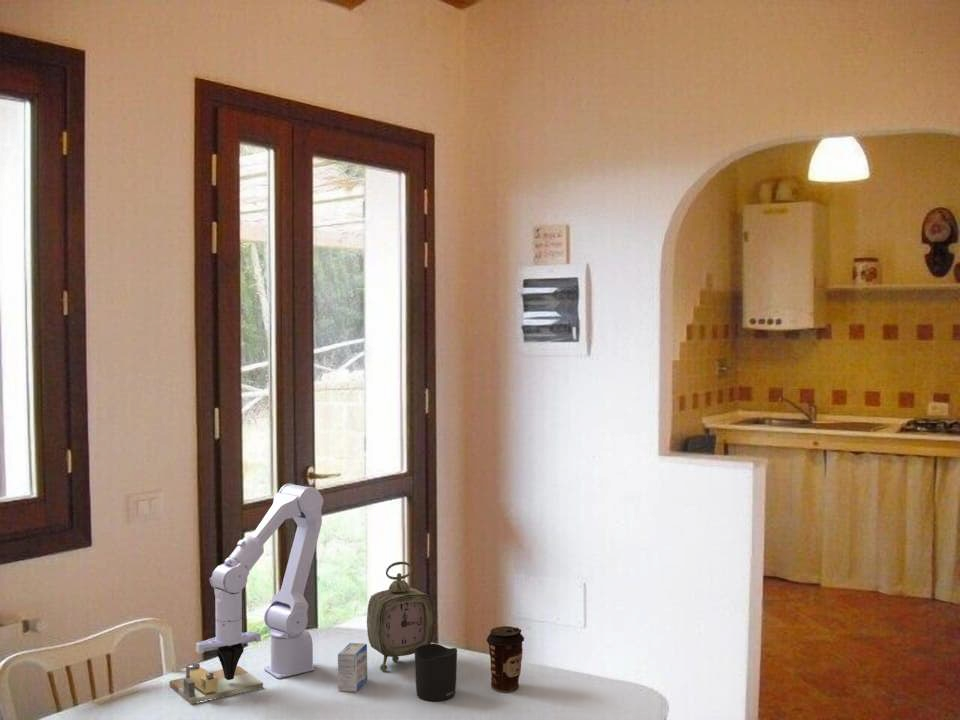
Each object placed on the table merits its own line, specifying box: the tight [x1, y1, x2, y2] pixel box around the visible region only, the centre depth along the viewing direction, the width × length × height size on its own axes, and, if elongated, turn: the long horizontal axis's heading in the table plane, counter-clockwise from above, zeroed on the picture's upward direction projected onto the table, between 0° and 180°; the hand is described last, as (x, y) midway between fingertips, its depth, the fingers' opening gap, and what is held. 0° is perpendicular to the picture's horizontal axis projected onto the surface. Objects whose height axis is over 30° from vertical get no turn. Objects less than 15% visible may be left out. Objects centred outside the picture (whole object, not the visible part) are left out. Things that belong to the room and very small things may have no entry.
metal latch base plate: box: [169, 665, 264, 705], centre depth 215 cm, size 16×14×4 cm
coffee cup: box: [486, 625, 525, 693], centre depth 214 cm, size 9×8×13 cm
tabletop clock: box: [366, 561, 435, 672], centre depth 230 cm, size 14×9×25 cm, turn 120°
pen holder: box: [414, 643, 458, 702], centre depth 210 cm, size 9×9×10 cm
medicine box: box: [337, 642, 368, 693], centre depth 216 cm, size 8×4×9 cm, turn 168°
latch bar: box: [185, 662, 218, 693], centre depth 212 cm, size 12×3×4 cm, turn 40°
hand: (229, 678), depth 214 cm, fingers closed
